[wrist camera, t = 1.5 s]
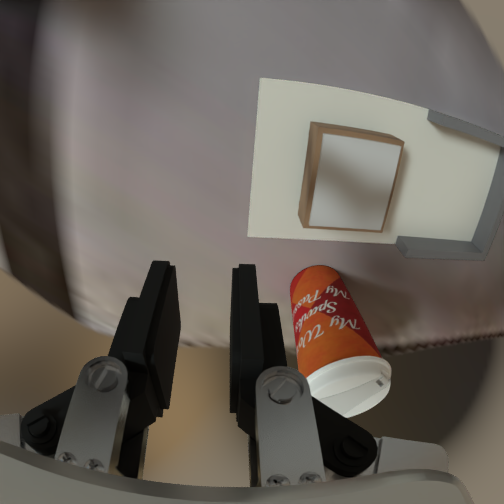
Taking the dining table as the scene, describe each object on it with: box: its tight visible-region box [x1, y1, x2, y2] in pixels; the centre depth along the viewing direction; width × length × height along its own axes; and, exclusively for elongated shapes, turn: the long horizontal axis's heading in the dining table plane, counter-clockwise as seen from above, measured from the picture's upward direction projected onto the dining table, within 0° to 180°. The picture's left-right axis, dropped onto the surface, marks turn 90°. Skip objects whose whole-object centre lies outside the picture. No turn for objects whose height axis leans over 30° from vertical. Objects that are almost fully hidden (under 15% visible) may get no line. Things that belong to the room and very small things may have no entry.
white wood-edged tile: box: [298, 121, 405, 233], centre depth 24 cm, size 8×7×4 cm
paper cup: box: [290, 265, 391, 418], centre depth 27 cm, size 8×8×14 cm
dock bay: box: [248, 78, 504, 261], centre depth 25 cm, size 14×27×3 cm, turn 86°
